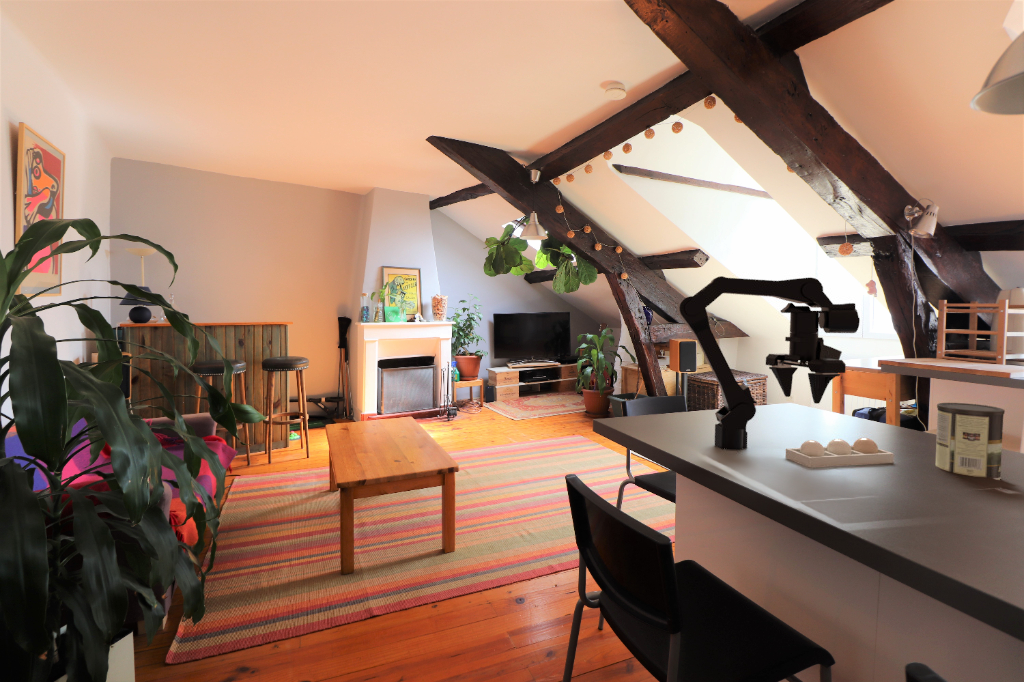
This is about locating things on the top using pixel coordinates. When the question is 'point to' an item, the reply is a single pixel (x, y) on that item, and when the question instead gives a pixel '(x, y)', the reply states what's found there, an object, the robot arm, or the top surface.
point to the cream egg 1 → (812, 449)
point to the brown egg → (865, 446)
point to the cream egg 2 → (839, 447)
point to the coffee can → (969, 439)
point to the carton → (839, 458)
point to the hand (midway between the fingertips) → (801, 399)
